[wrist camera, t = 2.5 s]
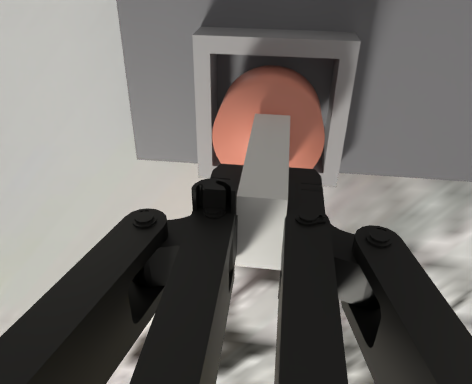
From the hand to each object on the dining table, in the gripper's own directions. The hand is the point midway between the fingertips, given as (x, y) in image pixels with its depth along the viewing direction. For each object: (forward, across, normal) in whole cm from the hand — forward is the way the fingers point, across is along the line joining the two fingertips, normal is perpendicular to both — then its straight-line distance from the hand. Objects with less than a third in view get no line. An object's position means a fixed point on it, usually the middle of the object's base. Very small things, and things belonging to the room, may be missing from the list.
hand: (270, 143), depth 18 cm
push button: (+3, 0, 0) cm, 3 cm away
